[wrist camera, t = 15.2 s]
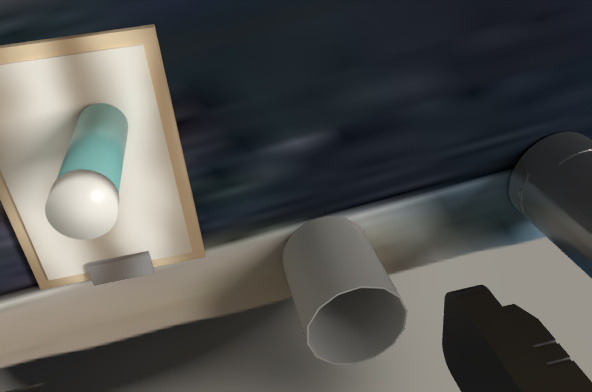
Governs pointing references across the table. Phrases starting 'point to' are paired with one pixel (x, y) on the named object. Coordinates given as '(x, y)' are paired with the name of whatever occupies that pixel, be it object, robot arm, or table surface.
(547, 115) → the table surface
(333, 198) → the table surface
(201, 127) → the table surface
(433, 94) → the table surface
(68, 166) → the marker
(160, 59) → the clipboard
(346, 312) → the cup
